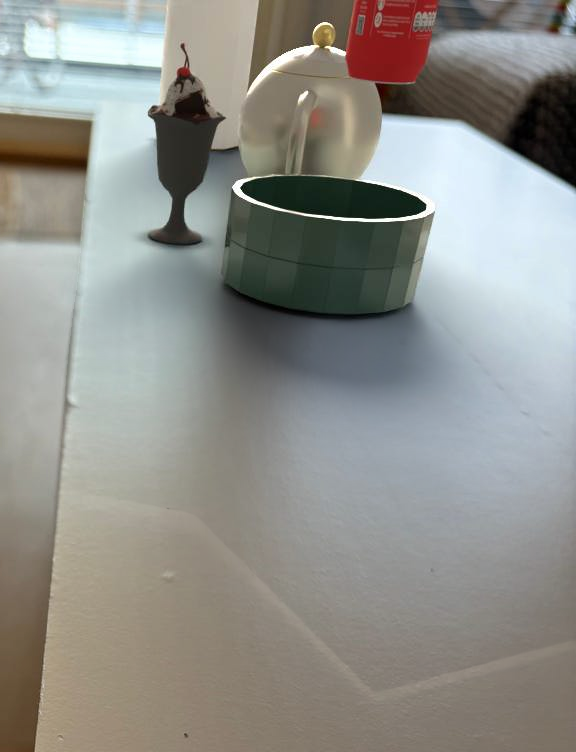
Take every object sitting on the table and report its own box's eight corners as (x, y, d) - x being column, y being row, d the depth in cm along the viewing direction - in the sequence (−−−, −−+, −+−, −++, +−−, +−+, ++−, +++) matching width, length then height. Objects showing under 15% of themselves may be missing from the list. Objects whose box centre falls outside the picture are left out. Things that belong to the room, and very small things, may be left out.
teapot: (240, 190, 106) (264, 11, 96) (367, 205, 103) (404, 23, 93) (209, 228, 92) (233, 24, 82) (354, 247, 89) (397, 38, 79)
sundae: (162, 223, 92) (179, 39, 83) (224, 237, 89) (247, 47, 81) (124, 236, 88) (136, 43, 79) (187, 251, 85) (208, 52, 76)
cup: (206, 133, 134) (223, -30, 123) (257, 148, 126) (281, -24, 115) (139, 136, 129) (151, -33, 118) (188, 153, 121) (206, -26, 110)
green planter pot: (382, 265, 85) (401, 178, 80) (437, 324, 73) (464, 225, 68) (209, 258, 84) (220, 169, 80) (236, 316, 72) (250, 215, 67)
